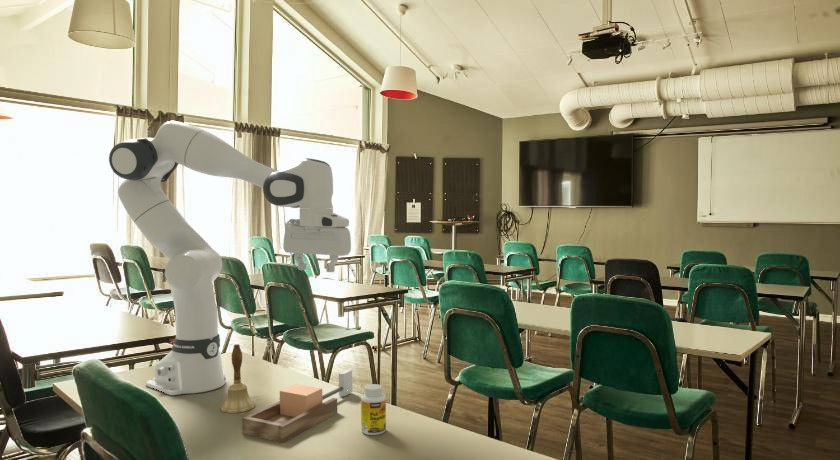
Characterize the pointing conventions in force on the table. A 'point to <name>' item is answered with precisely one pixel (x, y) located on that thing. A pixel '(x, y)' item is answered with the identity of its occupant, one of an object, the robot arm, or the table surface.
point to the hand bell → (237, 388)
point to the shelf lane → (285, 421)
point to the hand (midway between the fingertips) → (316, 271)
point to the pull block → (310, 395)
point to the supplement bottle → (373, 410)
